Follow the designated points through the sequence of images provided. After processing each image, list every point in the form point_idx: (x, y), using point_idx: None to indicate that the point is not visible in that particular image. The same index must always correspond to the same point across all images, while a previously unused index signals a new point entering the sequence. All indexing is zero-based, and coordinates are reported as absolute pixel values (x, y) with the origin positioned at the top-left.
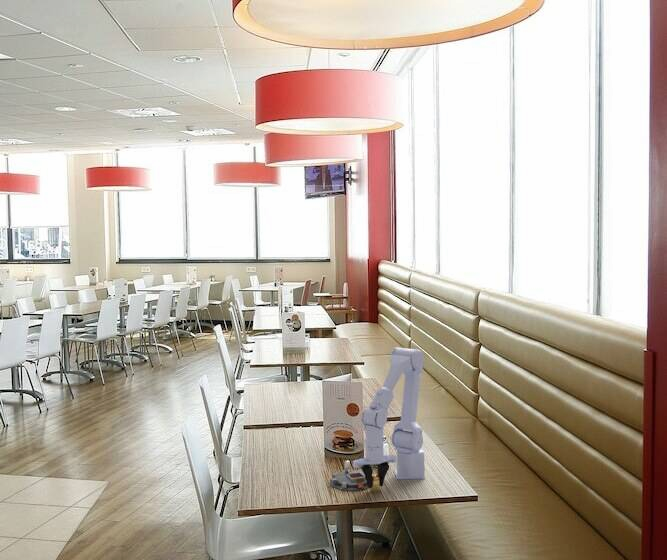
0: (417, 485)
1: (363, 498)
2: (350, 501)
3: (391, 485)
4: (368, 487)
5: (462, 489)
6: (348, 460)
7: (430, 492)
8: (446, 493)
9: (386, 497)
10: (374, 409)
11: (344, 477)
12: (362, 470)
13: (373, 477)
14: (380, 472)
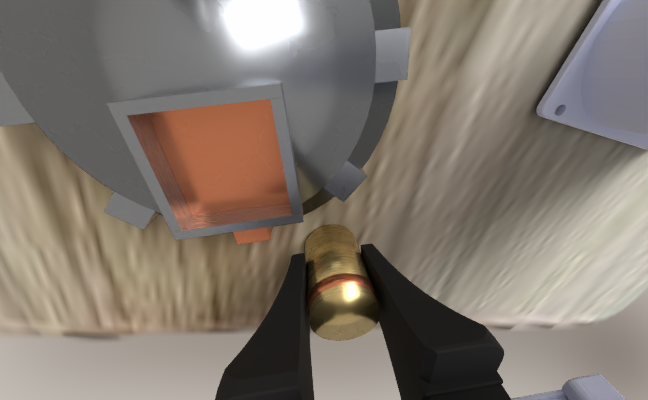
0: (549, 219)
1: (252, 302)
2: (188, 319)
3: (444, 190)
4: (306, 212)
5: (637, 284)
6: None
7: (528, 290)
8: (563, 304)
9: None
10: None
11: (113, 90)
12: (249, 340)
13: (324, 336)
14: (391, 338)
